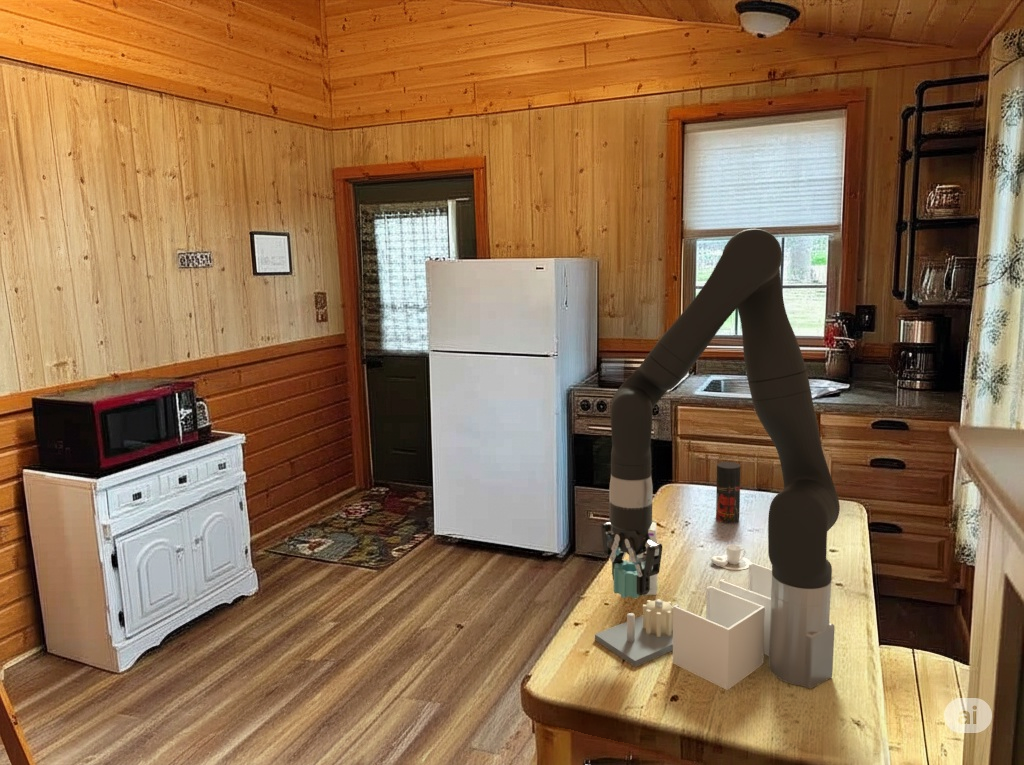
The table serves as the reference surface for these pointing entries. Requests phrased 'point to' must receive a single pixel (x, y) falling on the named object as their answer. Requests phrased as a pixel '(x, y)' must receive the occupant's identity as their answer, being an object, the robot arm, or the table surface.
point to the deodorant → (728, 492)
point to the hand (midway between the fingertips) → (630, 586)
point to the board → (641, 634)
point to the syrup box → (653, 578)
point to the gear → (626, 579)
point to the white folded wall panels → (726, 630)
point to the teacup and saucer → (731, 558)
